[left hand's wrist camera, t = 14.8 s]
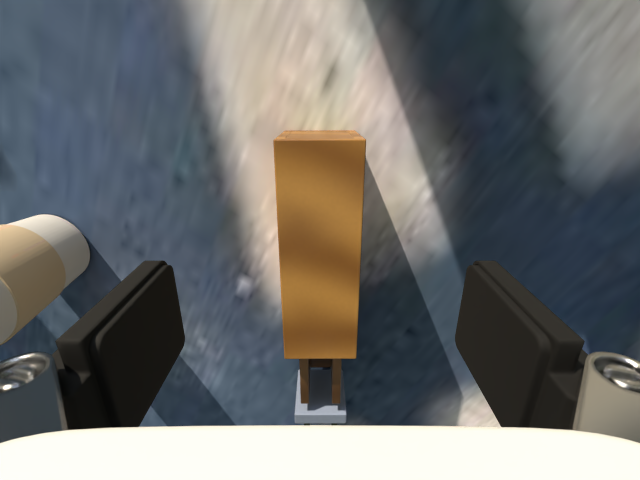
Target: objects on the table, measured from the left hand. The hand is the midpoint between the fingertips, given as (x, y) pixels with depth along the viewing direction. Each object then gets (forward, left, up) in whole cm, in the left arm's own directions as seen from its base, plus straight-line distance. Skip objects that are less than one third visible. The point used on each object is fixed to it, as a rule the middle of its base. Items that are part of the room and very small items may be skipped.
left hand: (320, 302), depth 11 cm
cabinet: (0, +6, -22) cm, 23 cm away
